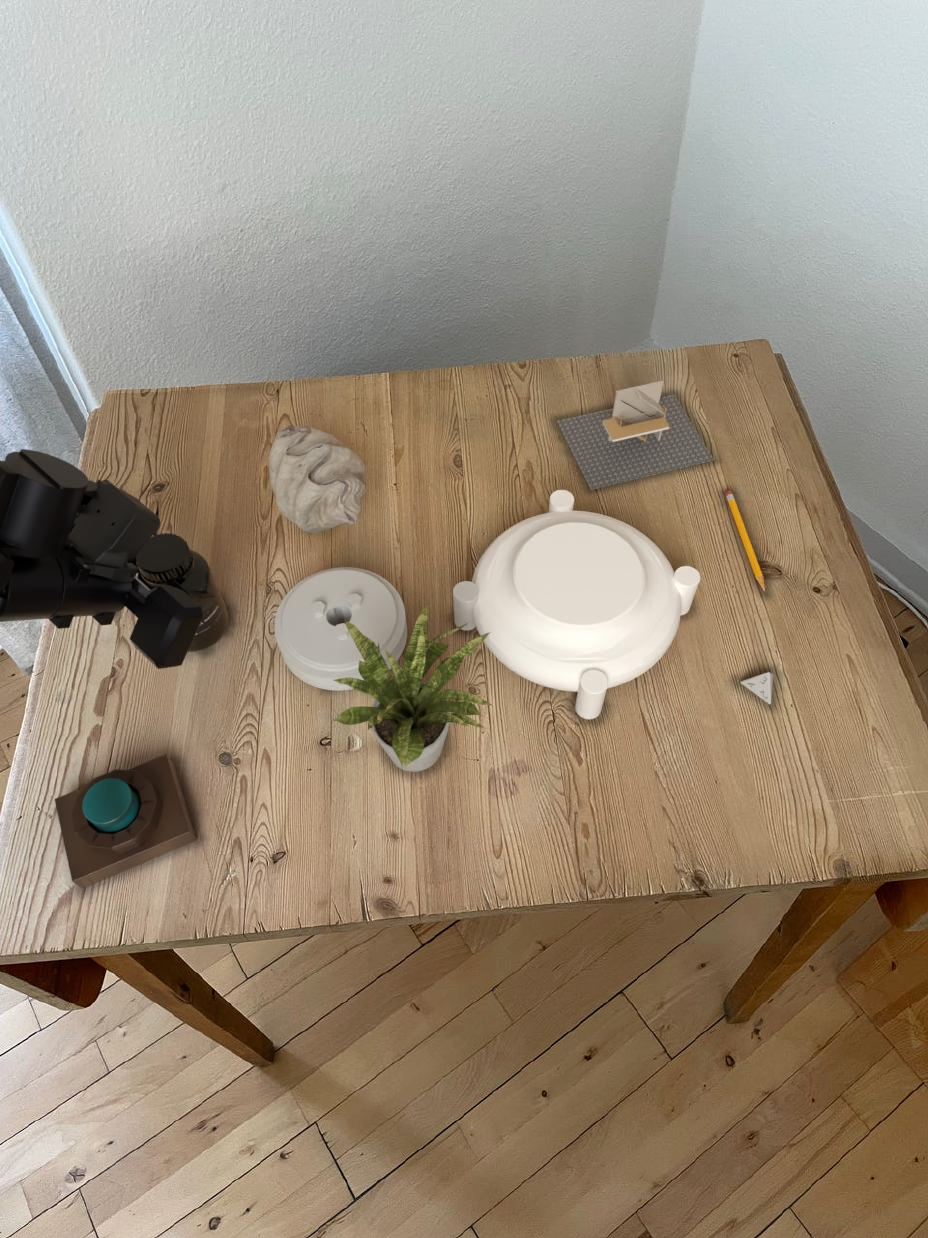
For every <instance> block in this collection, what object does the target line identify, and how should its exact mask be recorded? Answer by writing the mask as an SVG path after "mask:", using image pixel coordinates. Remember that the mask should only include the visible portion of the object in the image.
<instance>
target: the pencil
mask: <svg viewBox="0 0 928 1238" xmlns="http://www.w3.org/2000/svg"><path fill="white" fill-rule="evenodd" d="M724 495H725V497H726V500H727V502H728V505H729V508H730V511H731V513H732V517H733V519H734V522H735V525H736V527H737V530H738V532H739V533H738V534H739V536H740V539H741V542H742V544H743V546H744V549H745V552H746V556H747V558H748V560H749V563H750V566H751V569H752V572H753V574H754V577H755V580H756V581H757V582H758V584H759V586H760V588H761V589H762V590H763V591H764V592H766V588H765V579H764V578H765V577H764V574H763V572H762V570H761V566H760V564H759V561H758V559H757V556H756V553H755V550H754V548H753V545H752V543H751V540H750V537H749V534H748V531H747V529H746V526H745V523H744V520H743V518H742V515H741V513H740V509H739V508H738V504H737V501H736V498H735V496H734V494H733V491H732V490H726V492H725V494H724Z"/></svg>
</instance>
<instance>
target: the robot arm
mask: <svg viewBox="0 0 928 1238" xmlns="http://www.w3.org/2000/svg"><path fill="white" fill-rule="evenodd" d="M160 526H161V519H160V516H159V515H158V514H156V513H155V512H153V511H152V510H151V509H150V508H149V507H148V506H147V505H145V504H144V503H143V502H141V500H140V499H138V497H135V496H134V495H132V494H130V493H129V492H126V491H125V490H123V489H121V488H119V487H118V486H116V485H115V484H114V483H113V482H111V481H110V480H109V479H103V480H100V479H97V480H96V481H93V480H89V478H88V476H87V475H86V474H85V472H83V470H81V469H79V468H78V467H76V466H75V465H74V464H72V463H70V462H68V461H66V460H63V459H62V458H59V457H57V456H54V455H52V454H48V453H44V452H42V451H37V450H32V449H24V448H21V449H20V450H19V451H12V452H10V453H8V454H6V455H5V458H4V460H0V623H5V622H6V623H7V622H20V621H34V620H48V621H50V623H52V624H53V625H54V626H55V627H56V628H57V629H58V630H59V629H62V630H63V629H69V628H70V627H71V624H72V623H73V619H74V618H78V617H80V618H81V617H92V618H93V619H94V620H95V621H96V622H97V623H98V624H99V625H100V626H110V625H112V624H113V621H114V618H115V616H116V614H117V612H118V613H119V612H121V611H123V610H124V609H125V608H127V610H129V612H131V613H132V614H133V615H134V616H135V617H136V619H137V620H136V622H135V624H134V626H133V629H132V632H131V634H130V636H129V640H130V642H131V643H132V645H133V647H134V648H135V649H137V651H139V652H140V653H141V655H142V656H144V657H145V658H146V659H147V660H148V661H149V662H150V663H151V664H152V665H153V666H154V667H155V668H156V669H157V670H162V669H168V668H175V667H181V666H182V665H183V663H184V661H185V659H186V656H187V655H188V653H189V652H188V650H189V647H190V645H191V643H192V641H193V638H194V636H195V634H196V632H197V629H198V627H199V625H200V623H201V620H202V618H203V611H205V610H206V609H207V608H209V607H210V606H211V605H212V604H213V602H214V600H215V597H216V596H215V595H214V594H211V593H206V592H196V591H186V590H185V589H184V588H183V587H182V586H181V585H179V584H178V583H177V582H176V581H175V580H174V579H173V578H170V579H169V582H168V584H167V586H159V587H158V588H153V589H151V590H150V589H149V588H148V587H147V586H146V585H145V584H144V583H143V582H141V581H140V580H139V579H138V578H137V574H138V573H139V568H138V566H137V564H136V559H135V557H136V556H137V554H138V553H139V552H140V550H141V549H142V548H143V546H144V545H145V544H146V542H147V541H148V540H149V538H150V537H152V536H155V535H156V533H158V531H159V529H160Z"/></svg>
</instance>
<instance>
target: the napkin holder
mask: <svg viewBox="0 0 928 1238" xmlns="http://www.w3.org/2000/svg"><path fill="white" fill-rule="evenodd" d="M663 386H664V380H660V381H659V380H658V381H655V382H650V383H646V384H641V385H636V386H633V387H627V388H624V389H619V390H615V397H614V401H613V406H612V408H611V409H612V413H611V418H607V419H603V420H602V422H601V423H602V425H603V427H604V429H605V431H606V433H607V434H608V437H607V440H608V441H611V442H612V443H615V442H619V441H624V440H628V439H632V438H637V439H639V440H641V441H643V443H644V444H645V443H646V442H647V439H648V435H649V434H654V435H655V437H656V439H657V440H658V441H660V440H661V438H662V433H663V431H667V430H669V429H670V425H669V424H668V422H667V420H666V417H667V410H668V407H667V406H665V407H664V408H663V407H662V405H661V404H660V400H661V397H662V396H661V394H662V392H663V391H662V390H663Z"/></svg>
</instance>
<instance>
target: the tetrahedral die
mask: <svg viewBox="0 0 928 1238" xmlns="http://www.w3.org/2000/svg"><path fill="white" fill-rule="evenodd" d="M773 682H774V674H773V673H772V672H770V671H767V672H763V673H761V674H758V675H756V676H755V675H754V676H753V677H750V678H747V679H744V680H741V681H740V684H741V685H743V687H745V688H747V689H748V690H749V691H751V693H753V694H755V695H756V696H758V698H760V699H761V700H763V701H764V702H765V703H767V704H768V705H771V704H772V695H773V684H774V683H773Z"/></svg>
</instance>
